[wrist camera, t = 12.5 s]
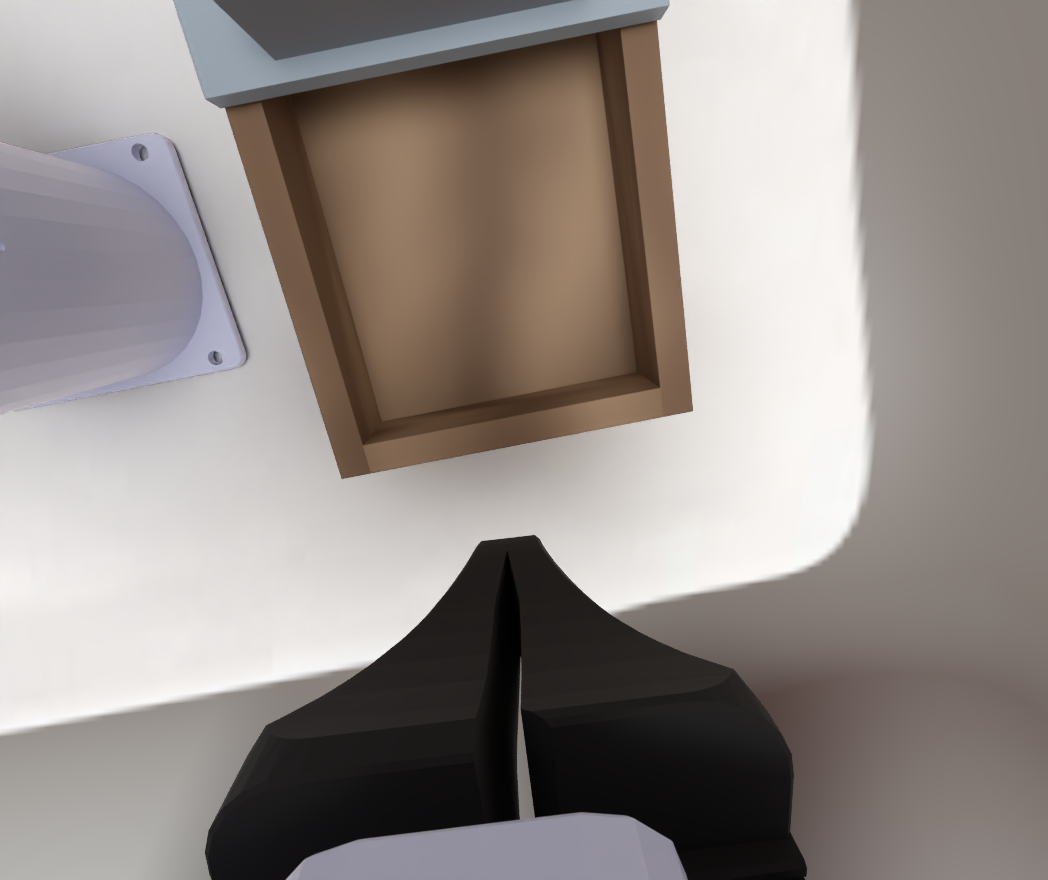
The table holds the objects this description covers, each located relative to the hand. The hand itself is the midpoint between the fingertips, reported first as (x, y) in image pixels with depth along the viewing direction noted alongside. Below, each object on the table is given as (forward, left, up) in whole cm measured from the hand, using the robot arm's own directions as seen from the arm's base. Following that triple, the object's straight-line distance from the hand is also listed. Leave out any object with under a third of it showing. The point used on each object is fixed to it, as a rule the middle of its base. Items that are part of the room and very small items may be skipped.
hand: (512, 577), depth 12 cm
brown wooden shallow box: (0, +9, -10) cm, 14 cm away
